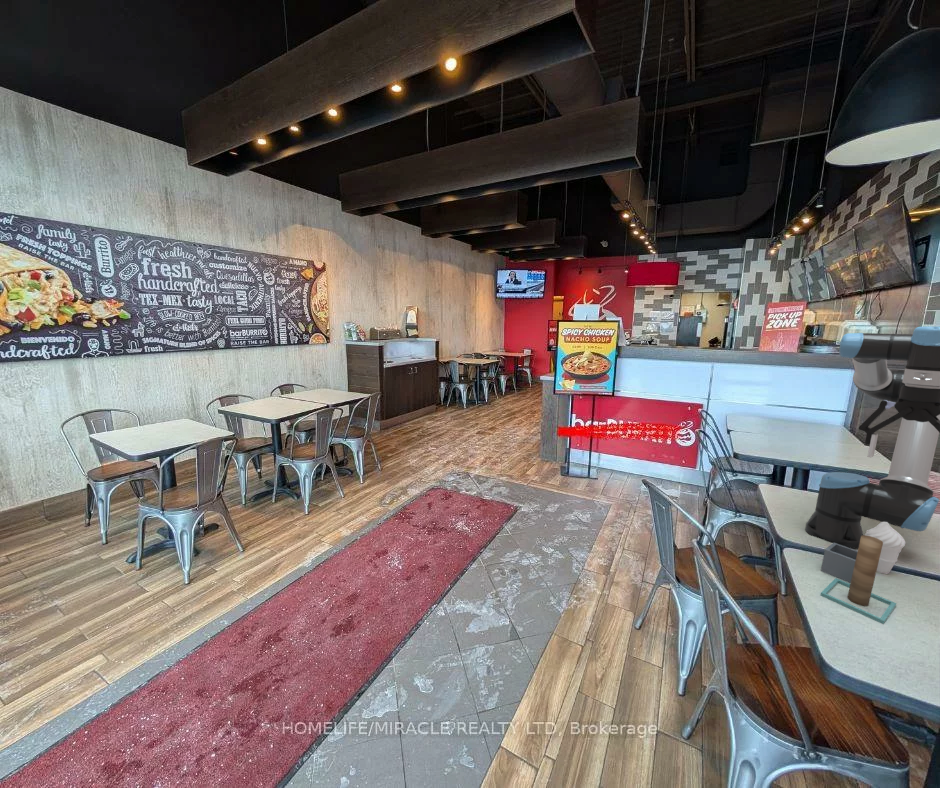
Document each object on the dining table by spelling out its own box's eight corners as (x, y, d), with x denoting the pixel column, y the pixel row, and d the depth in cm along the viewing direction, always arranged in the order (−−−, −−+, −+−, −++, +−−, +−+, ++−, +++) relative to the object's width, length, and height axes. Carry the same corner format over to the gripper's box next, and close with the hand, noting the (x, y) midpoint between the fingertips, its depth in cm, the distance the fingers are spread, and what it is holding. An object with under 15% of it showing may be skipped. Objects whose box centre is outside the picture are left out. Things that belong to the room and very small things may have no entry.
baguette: (849, 594, 105) (863, 533, 102) (870, 603, 102) (885, 541, 99) (845, 599, 103) (858, 537, 100) (865, 608, 100) (880, 545, 96)
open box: (828, 566, 119) (833, 542, 118) (862, 579, 113) (868, 554, 111) (820, 573, 115) (824, 549, 114) (854, 588, 109) (860, 562, 107)
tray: (834, 583, 111) (835, 577, 110) (895, 609, 101) (896, 603, 100) (819, 598, 104) (820, 592, 104) (882, 627, 94) (884, 621, 94)
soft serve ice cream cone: (906, 582, 112) (918, 531, 109) (872, 578, 113) (883, 528, 111) (882, 565, 120) (892, 517, 117) (850, 561, 122) (860, 514, 119)
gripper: (853, 381, 109) (839, 452, 112) (1002, 394, 88) (979, 482, 92) (861, 379, 113) (847, 448, 116) (1005, 392, 92) (983, 476, 96)
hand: (905, 463), depth 104 cm, fingers open, 13 cm apart
